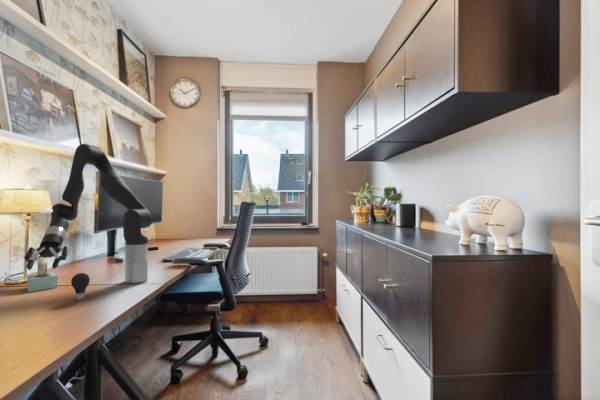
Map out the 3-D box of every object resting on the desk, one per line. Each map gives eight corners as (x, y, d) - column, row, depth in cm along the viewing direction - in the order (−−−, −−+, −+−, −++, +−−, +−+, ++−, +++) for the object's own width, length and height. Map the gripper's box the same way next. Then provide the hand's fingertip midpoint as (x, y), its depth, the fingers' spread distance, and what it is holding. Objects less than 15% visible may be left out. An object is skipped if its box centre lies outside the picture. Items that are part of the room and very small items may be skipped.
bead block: (57, 287, 129) (57, 275, 129) (28, 291, 122) (29, 279, 122) (54, 283, 135) (54, 272, 135) (26, 287, 128) (27, 275, 128)
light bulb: (92, 299, 114) (92, 272, 114) (75, 303, 109) (75, 275, 109) (85, 296, 116) (85, 270, 117) (67, 300, 112) (68, 273, 112)
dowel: (47, 287, 129) (47, 259, 129) (37, 288, 126) (38, 260, 127) (46, 286, 131) (46, 258, 131) (37, 287, 128) (37, 259, 129)
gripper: (31, 233, 134) (17, 264, 123) (70, 232, 139) (59, 262, 128) (37, 243, 139) (23, 274, 128) (74, 242, 144) (64, 272, 133)
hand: (41, 268), depth 128 cm, fingers open, 8 cm apart
